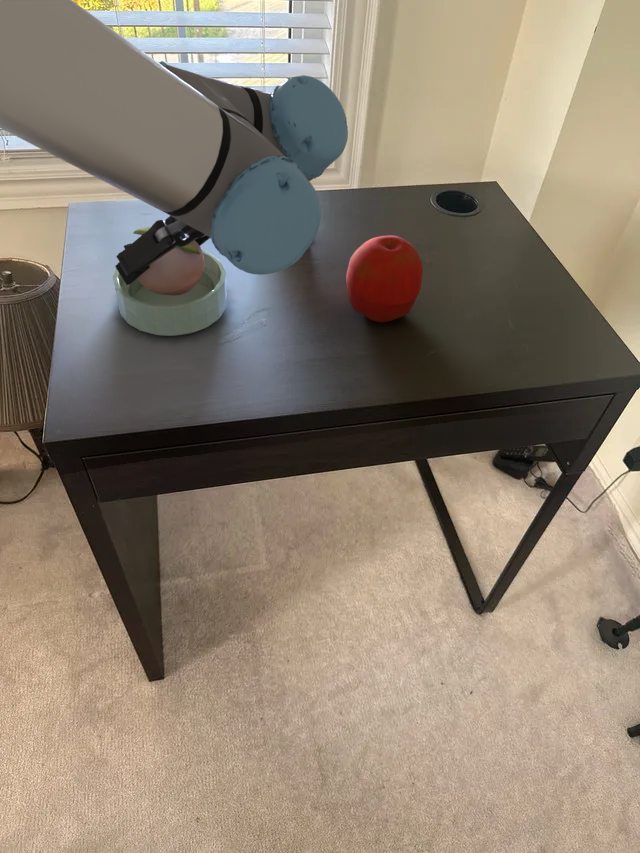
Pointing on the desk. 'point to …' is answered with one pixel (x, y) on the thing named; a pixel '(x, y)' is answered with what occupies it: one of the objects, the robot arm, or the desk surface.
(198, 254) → the decorative fruit
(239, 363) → the desk surface
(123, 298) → the bowl
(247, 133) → the robot arm
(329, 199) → the desk surface
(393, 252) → the apple
